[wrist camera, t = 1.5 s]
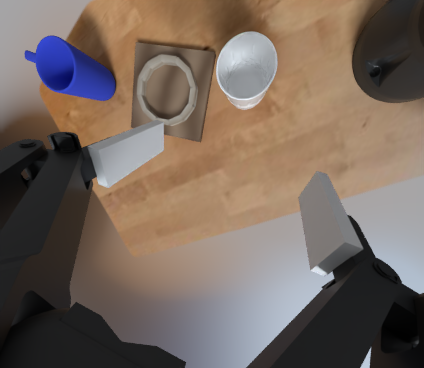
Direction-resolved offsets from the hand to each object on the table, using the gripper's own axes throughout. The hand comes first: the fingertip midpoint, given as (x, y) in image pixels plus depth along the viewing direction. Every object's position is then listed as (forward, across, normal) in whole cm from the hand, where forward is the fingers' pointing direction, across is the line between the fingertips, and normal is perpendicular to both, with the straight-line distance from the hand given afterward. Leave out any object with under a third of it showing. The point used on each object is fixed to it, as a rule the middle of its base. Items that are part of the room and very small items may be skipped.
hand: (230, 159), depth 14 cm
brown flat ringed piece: (+21, -18, -1) cm, 28 cm away
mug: (+20, -36, -3) cm, 41 cm away
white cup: (+23, -3, +3) cm, 24 cm away
